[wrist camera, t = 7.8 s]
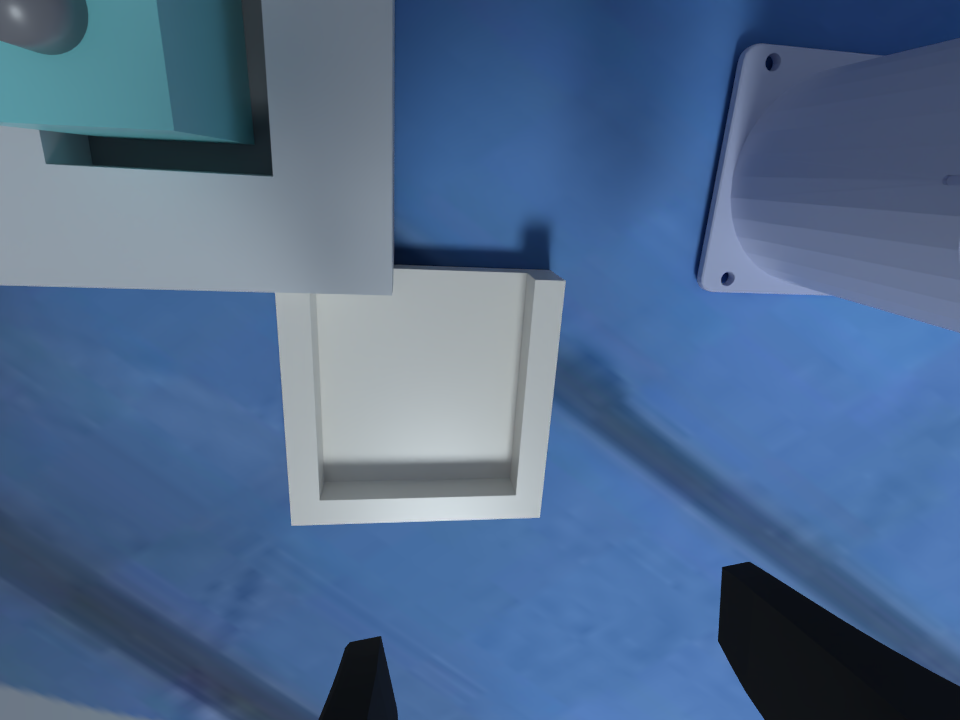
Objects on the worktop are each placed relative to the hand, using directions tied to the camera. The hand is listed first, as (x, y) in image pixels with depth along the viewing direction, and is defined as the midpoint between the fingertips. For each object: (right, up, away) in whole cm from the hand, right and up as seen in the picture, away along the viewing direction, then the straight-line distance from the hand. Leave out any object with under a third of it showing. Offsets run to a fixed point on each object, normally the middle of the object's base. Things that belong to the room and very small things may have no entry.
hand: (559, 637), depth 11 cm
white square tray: (-4, +5, +9) cm, 11 cm away
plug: (-10, +14, +4) cm, 18 cm away
